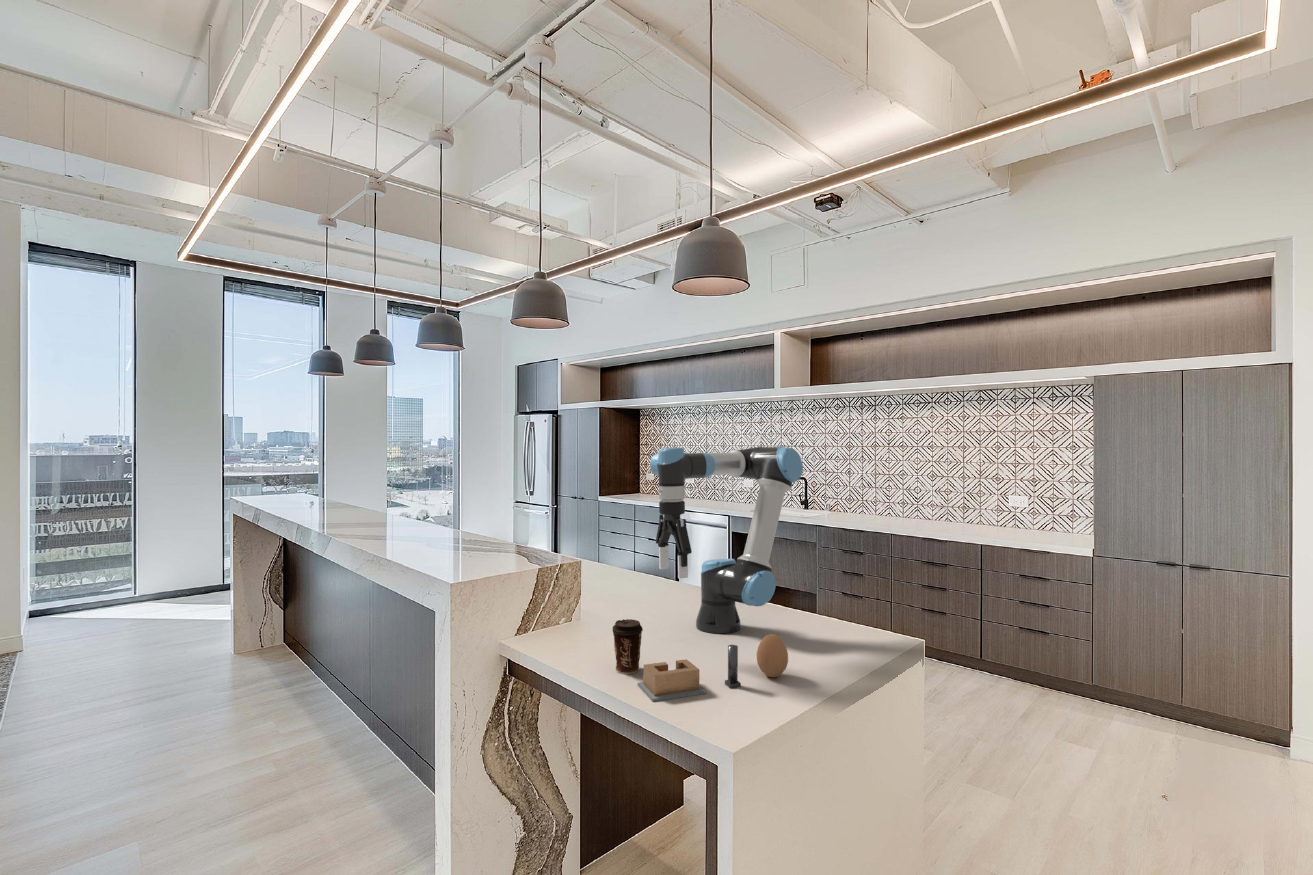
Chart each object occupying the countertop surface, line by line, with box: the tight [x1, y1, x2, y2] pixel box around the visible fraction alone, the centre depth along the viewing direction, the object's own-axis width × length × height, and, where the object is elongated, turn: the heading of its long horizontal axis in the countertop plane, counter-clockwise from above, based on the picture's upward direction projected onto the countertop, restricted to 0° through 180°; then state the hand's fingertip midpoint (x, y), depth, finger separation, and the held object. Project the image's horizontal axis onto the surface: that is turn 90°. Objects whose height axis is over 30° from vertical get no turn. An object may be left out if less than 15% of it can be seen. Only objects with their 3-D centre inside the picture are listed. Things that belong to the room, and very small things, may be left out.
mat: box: [637, 681, 706, 702], centre depth 155 cm, size 14×11×1 cm
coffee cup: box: [612, 618, 644, 675], centre depth 169 cm, size 9×8×13 cm
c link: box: [642, 658, 700, 696], centre depth 155 cm, size 12×8×5 cm, turn 111°
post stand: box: [724, 644, 742, 689], centre depth 158 cm, size 3×3×10 cm
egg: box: [756, 633, 789, 678], centre depth 164 cm, size 8×8×11 cm
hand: (673, 573), depth 179 cm, fingers open, 13 cm apart
